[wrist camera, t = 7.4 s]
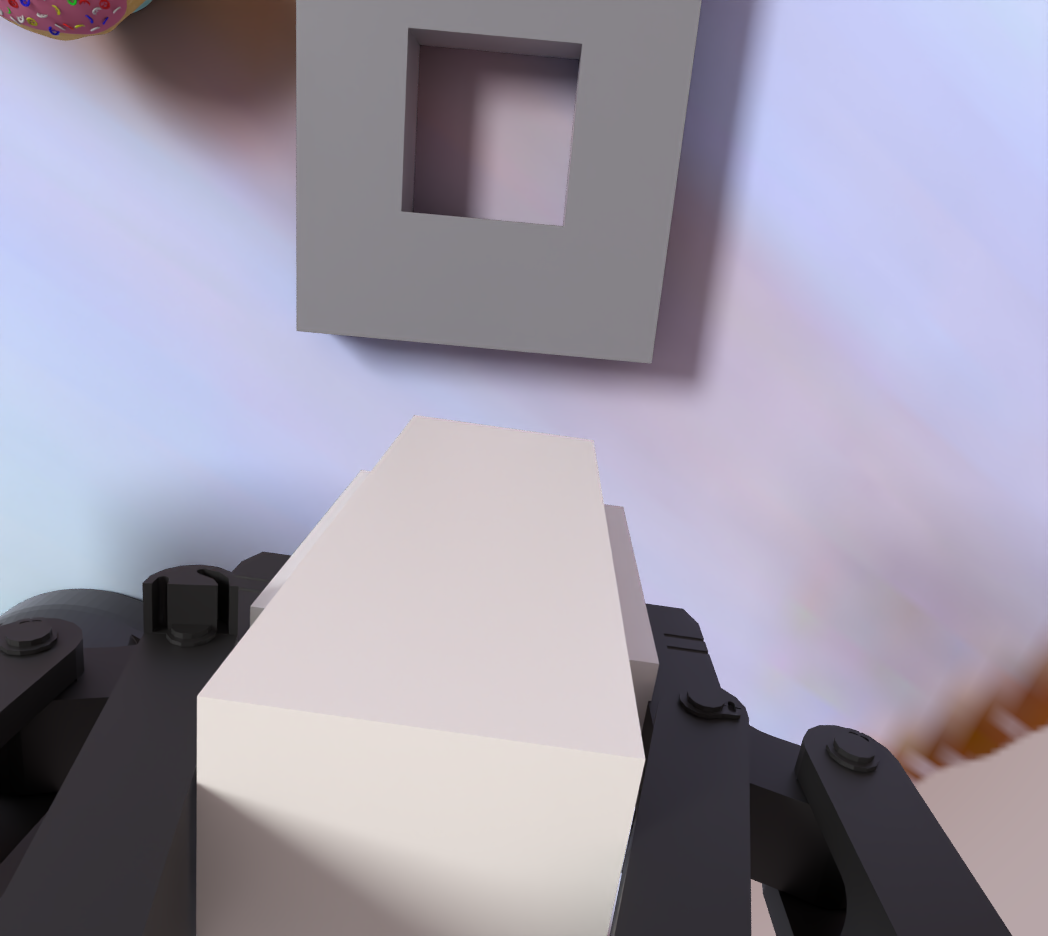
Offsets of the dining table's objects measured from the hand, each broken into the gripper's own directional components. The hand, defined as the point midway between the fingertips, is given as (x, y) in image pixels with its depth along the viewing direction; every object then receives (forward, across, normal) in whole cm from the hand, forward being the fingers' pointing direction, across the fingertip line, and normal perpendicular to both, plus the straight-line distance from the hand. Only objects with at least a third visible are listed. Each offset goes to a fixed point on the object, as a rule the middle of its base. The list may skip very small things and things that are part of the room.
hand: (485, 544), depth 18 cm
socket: (+21, +3, -10) cm, 24 cm away
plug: (+2, 0, 0) cm, 2 cm away
